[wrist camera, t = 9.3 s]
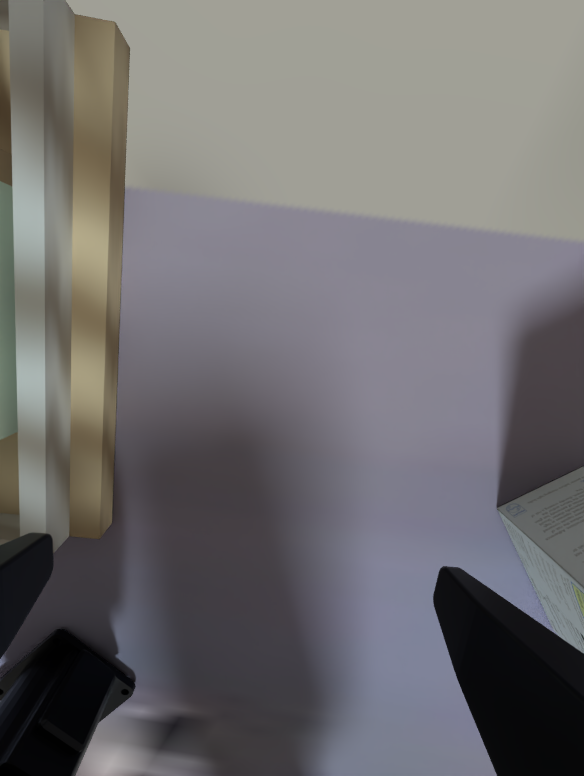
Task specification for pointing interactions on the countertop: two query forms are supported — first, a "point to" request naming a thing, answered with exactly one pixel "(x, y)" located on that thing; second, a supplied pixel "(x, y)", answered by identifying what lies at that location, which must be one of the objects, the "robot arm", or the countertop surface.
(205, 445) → the countertop surface
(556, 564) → the light bulb box
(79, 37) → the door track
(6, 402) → the door panel
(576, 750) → the robot arm
